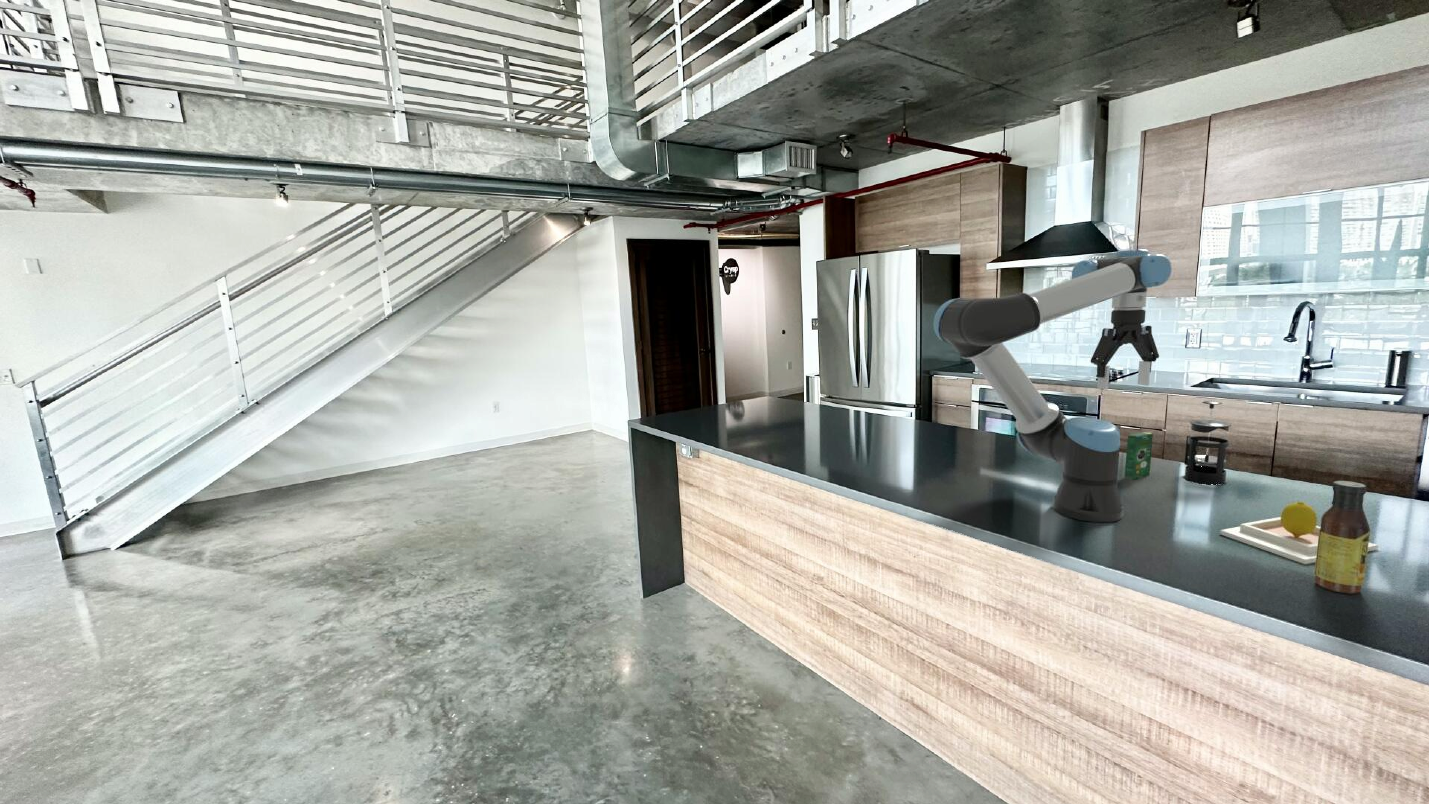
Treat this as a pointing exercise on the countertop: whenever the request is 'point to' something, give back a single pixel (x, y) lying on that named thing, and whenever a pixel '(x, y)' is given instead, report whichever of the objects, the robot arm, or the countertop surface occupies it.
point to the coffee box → (1138, 455)
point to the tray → (1279, 539)
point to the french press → (1205, 472)
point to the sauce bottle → (1343, 540)
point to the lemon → (1298, 519)
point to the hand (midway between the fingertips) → (1123, 387)
